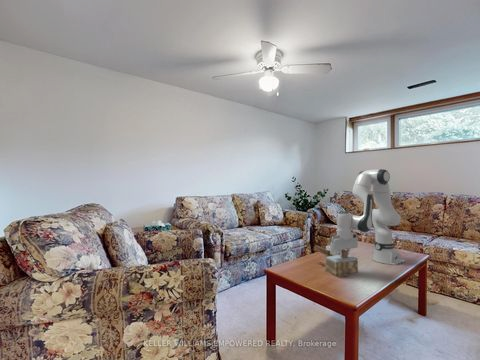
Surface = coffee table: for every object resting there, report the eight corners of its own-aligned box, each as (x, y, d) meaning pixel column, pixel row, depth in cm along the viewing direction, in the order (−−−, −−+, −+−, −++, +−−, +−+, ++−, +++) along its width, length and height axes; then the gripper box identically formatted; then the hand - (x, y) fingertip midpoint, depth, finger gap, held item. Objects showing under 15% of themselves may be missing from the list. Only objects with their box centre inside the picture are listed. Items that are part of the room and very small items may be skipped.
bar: (316, 249, 178) (316, 245, 178) (330, 255, 164) (330, 251, 164) (314, 249, 177) (314, 245, 177) (327, 255, 163) (327, 251, 163)
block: (336, 260, 180) (336, 234, 180) (328, 258, 186) (328, 232, 186) (345, 258, 186) (345, 233, 185) (336, 255, 192) (337, 231, 192)
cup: (332, 265, 170) (332, 249, 170) (323, 261, 179) (323, 245, 178) (341, 263, 174) (341, 247, 174) (332, 259, 182) (332, 244, 182)
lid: (347, 255, 167) (347, 247, 166) (357, 260, 157) (357, 251, 157) (325, 258, 161) (325, 250, 161) (335, 263, 152) (335, 254, 152)
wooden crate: (344, 266, 168) (344, 252, 168) (359, 273, 156) (359, 258, 156) (323, 269, 163) (323, 254, 163) (337, 277, 150) (337, 261, 150)
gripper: (334, 237, 153) (334, 258, 153) (359, 234, 160) (359, 255, 160) (328, 235, 159) (328, 255, 159) (352, 232, 166) (352, 252, 166)
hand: (344, 255), depth 160 cm, fingers closed on lid, 3 cm apart
